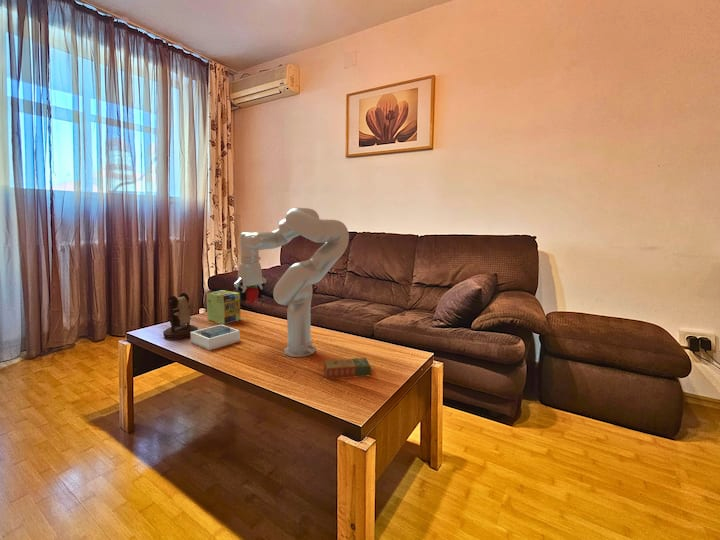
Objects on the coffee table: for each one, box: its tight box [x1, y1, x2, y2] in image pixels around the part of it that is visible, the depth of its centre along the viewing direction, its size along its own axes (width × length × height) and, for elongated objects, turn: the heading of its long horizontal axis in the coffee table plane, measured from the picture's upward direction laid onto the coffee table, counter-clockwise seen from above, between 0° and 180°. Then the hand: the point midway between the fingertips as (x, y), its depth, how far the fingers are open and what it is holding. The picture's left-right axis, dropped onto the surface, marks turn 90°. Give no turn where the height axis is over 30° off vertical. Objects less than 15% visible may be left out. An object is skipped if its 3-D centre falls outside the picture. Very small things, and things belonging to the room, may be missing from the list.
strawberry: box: [245, 285, 259, 305], centre depth 155 cm, size 6×8×10 cm
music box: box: [163, 292, 199, 340], centre depth 164 cm, size 15×15×20 cm
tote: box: [190, 323, 241, 351], centre depth 156 cm, size 15×15×5 cm
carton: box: [323, 357, 372, 380], centre depth 126 cm, size 8×16×4 cm, turn 102°
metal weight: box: [201, 324, 230, 338], centre depth 156 cm, size 6×10×5 cm, turn 150°
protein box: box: [206, 289, 242, 325], centre depth 190 cm, size 10×15×16 cm
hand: (251, 299), depth 155 cm, fingers closed on strawberry, 7 cm apart
